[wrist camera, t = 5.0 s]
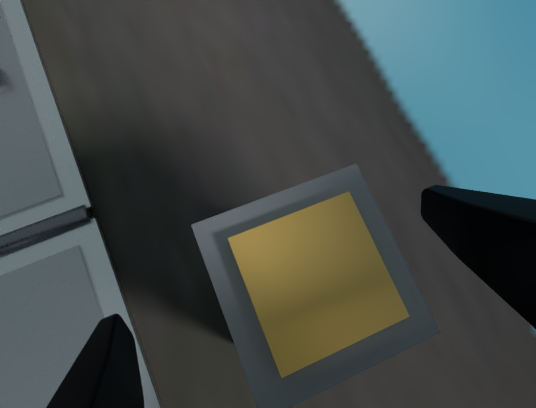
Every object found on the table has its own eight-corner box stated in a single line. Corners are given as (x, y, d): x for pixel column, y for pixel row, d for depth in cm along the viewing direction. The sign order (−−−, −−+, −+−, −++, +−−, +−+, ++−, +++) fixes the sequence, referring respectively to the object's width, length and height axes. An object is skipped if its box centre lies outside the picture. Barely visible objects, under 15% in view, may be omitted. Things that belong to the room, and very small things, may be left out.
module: (324, 313, 16) (449, 333, 7) (245, 349, 15) (264, 427, 6) (291, 236, 17) (361, 158, 8) (215, 266, 16) (188, 221, 7)
